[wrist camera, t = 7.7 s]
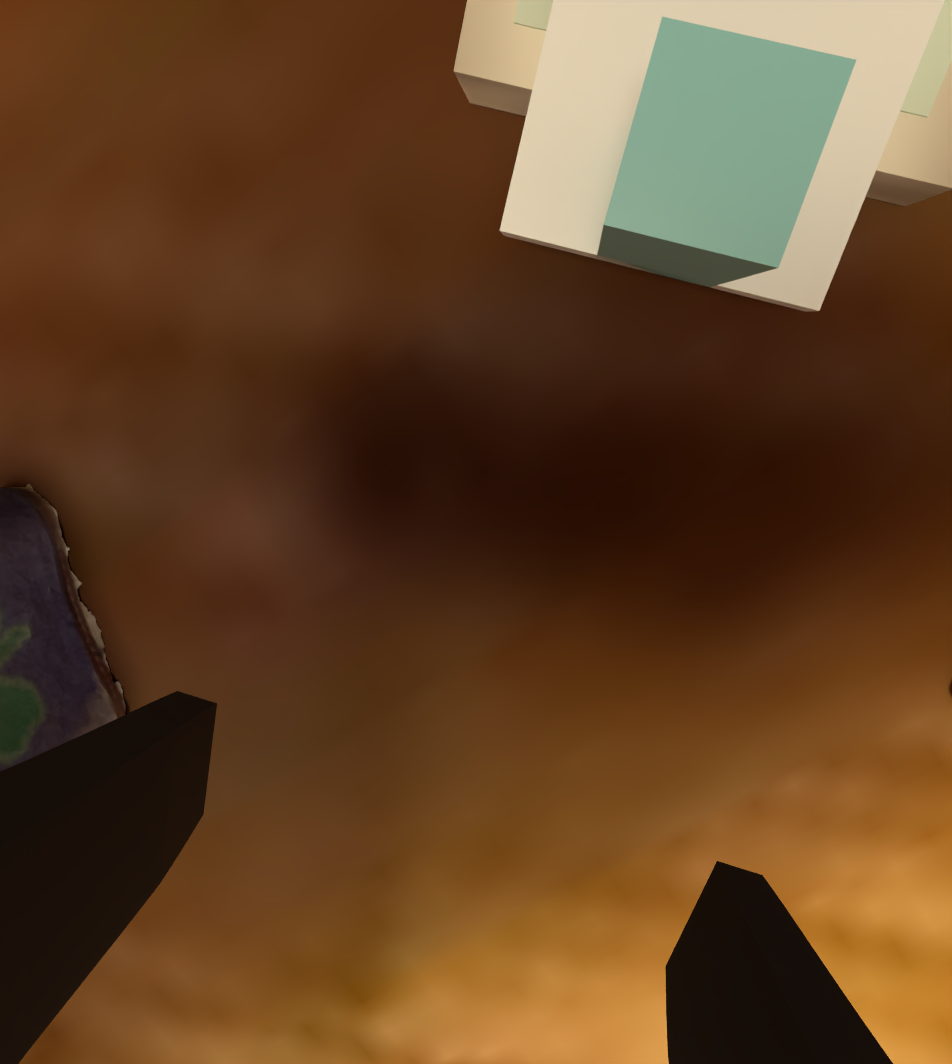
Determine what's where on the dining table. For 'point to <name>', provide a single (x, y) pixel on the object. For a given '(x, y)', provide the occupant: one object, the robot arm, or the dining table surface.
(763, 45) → the block
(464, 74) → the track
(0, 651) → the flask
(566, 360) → the dining table surface
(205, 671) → the dining table surface
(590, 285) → the dining table surface
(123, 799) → the robot arm
